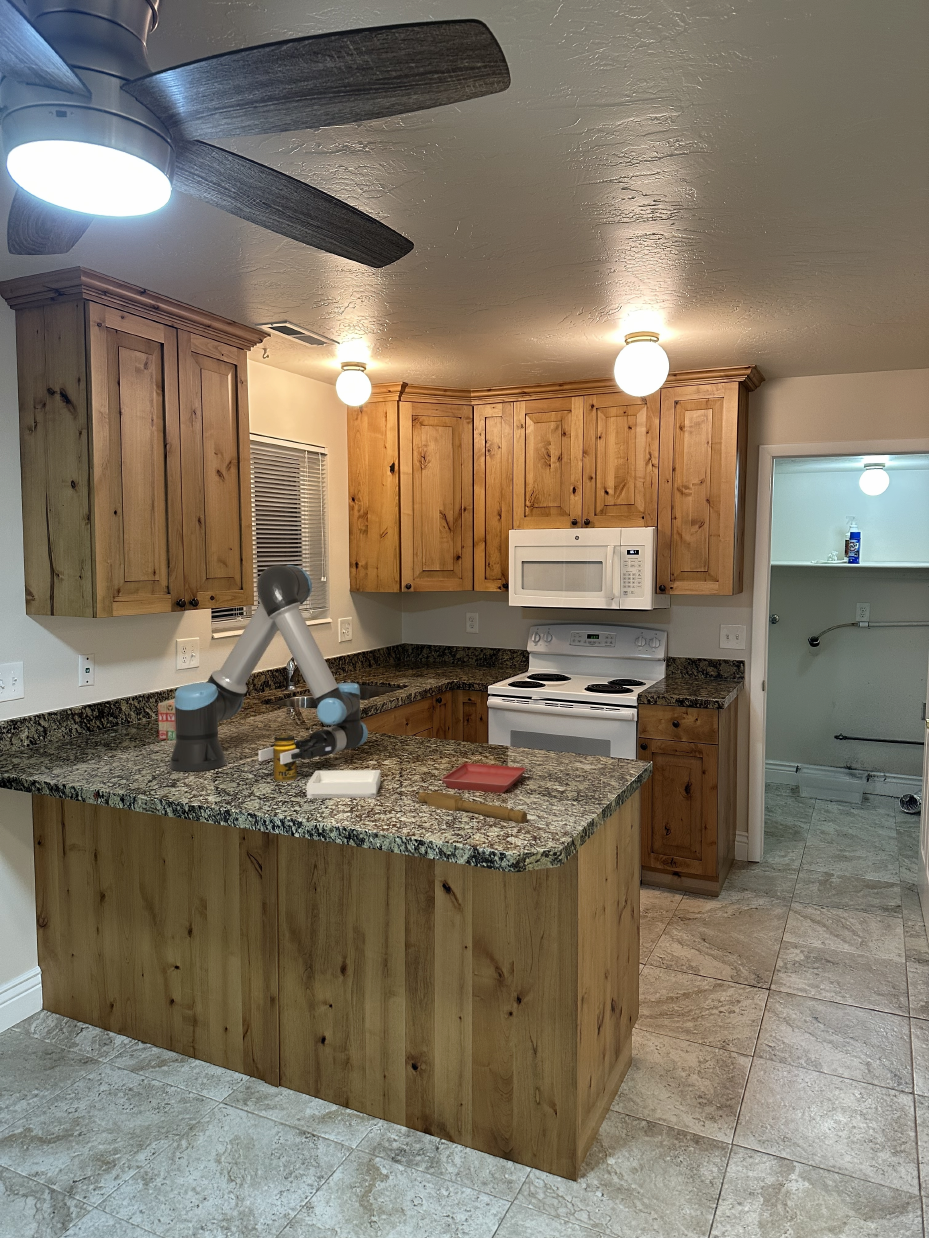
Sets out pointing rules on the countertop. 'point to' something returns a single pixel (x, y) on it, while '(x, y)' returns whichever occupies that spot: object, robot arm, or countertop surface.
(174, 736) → the stack of blocks
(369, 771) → the tray
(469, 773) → the plant saucer
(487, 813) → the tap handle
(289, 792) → the countertop surface
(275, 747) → the condiment
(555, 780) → the countertop surface
